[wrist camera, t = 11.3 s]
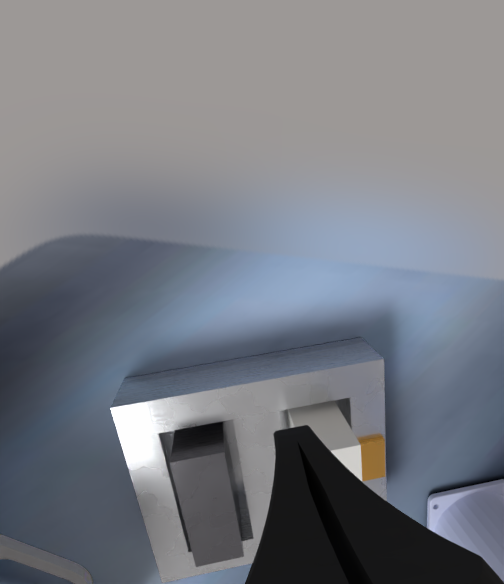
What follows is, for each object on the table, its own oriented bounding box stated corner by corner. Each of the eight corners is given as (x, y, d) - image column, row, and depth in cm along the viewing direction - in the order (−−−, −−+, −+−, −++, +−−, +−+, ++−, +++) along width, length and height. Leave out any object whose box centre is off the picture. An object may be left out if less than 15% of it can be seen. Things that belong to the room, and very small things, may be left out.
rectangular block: (333, 479, 25) (365, 555, 20) (294, 487, 25) (316, 566, 20) (326, 387, 23) (360, 445, 18) (283, 395, 23) (304, 456, 17)
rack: (367, 495, 27) (399, 556, 23) (167, 537, 26) (158, 610, 21) (361, 337, 23) (398, 372, 18) (124, 378, 22) (101, 426, 17)
